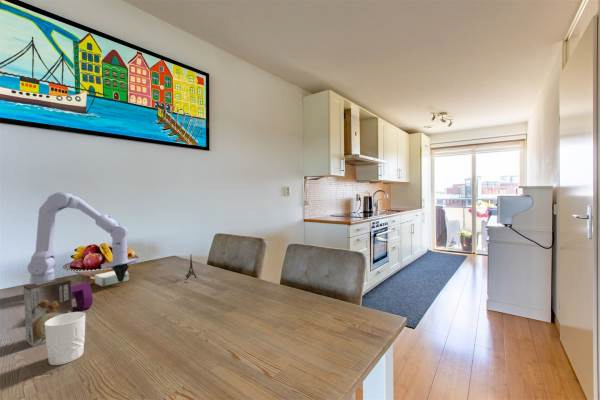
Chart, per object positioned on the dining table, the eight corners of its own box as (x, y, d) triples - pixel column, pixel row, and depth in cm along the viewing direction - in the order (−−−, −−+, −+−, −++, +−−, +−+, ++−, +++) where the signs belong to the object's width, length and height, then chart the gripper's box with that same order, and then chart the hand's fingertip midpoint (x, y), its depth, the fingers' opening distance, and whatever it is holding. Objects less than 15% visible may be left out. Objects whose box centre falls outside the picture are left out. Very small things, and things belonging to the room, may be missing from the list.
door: (101, 286, 123) (101, 278, 123) (128, 280, 132) (127, 272, 132) (102, 286, 123) (102, 278, 123) (129, 280, 132) (129, 272, 131)
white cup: (62, 349, 72) (61, 312, 72) (93, 347, 73) (92, 311, 73) (36, 368, 65) (35, 326, 64) (71, 366, 65) (70, 325, 65)
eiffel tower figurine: (192, 273, 144) (192, 248, 144) (208, 275, 141) (208, 249, 141) (171, 282, 130) (170, 254, 130) (188, 284, 127) (188, 255, 127)
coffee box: (65, 327, 85) (64, 276, 84) (74, 333, 81) (72, 279, 81) (24, 341, 77) (23, 285, 77) (32, 347, 73) (30, 289, 73)
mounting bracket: (44, 326, 99) (61, 314, 90) (40, 303, 100) (56, 289, 92) (76, 316, 107) (94, 304, 98) (71, 295, 108) (89, 282, 100)
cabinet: (94, 283, 128) (94, 274, 128) (120, 277, 137) (120, 269, 137) (102, 286, 124) (102, 277, 124) (128, 279, 133) (128, 271, 133)
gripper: (105, 255, 116) (106, 287, 117) (140, 249, 129) (141, 278, 129) (98, 254, 120) (99, 284, 121) (133, 248, 132) (133, 276, 133)
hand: (120, 281), depth 125 cm, fingers closed
